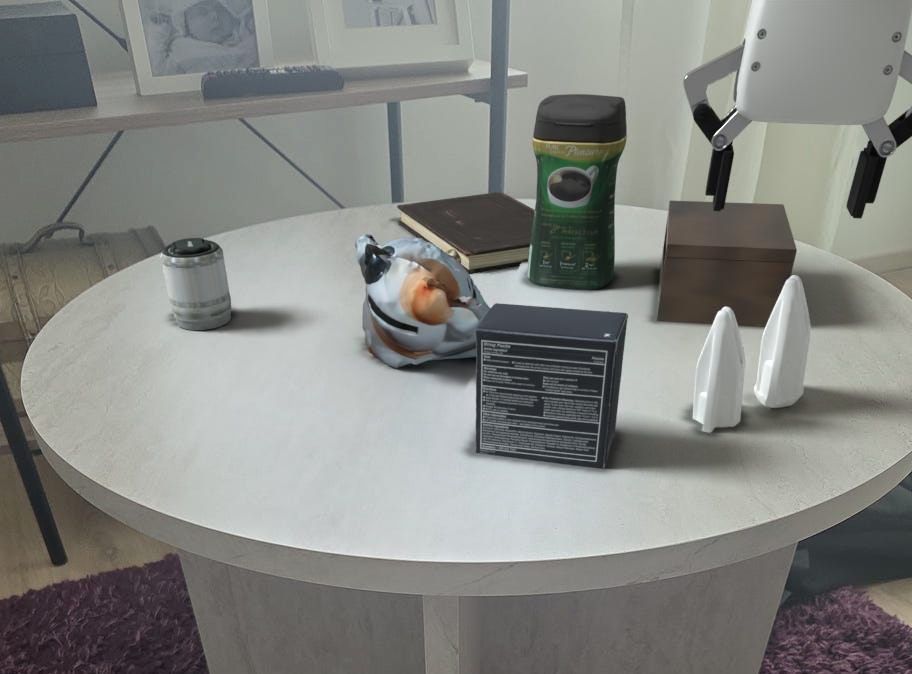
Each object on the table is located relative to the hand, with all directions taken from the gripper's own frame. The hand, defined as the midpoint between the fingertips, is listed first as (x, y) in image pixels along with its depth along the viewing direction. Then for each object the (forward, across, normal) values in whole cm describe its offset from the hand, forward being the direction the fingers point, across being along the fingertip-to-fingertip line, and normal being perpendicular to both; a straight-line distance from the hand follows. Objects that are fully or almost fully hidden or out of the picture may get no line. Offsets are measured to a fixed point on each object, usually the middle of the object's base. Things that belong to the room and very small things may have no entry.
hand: (784, 210), depth 67 cm
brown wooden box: (+16, +1, -27) cm, 32 cm away
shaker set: (+16, -1, 0) cm, 16 cm away
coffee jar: (+16, +17, -31) cm, 39 cm away
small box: (+17, +15, +9) cm, 24 cm away
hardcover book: (+17, +29, -46) cm, 57 cm away
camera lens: (+17, +54, -13) cm, 59 cm away
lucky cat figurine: (+17, +28, -8) cm, 34 cm away
